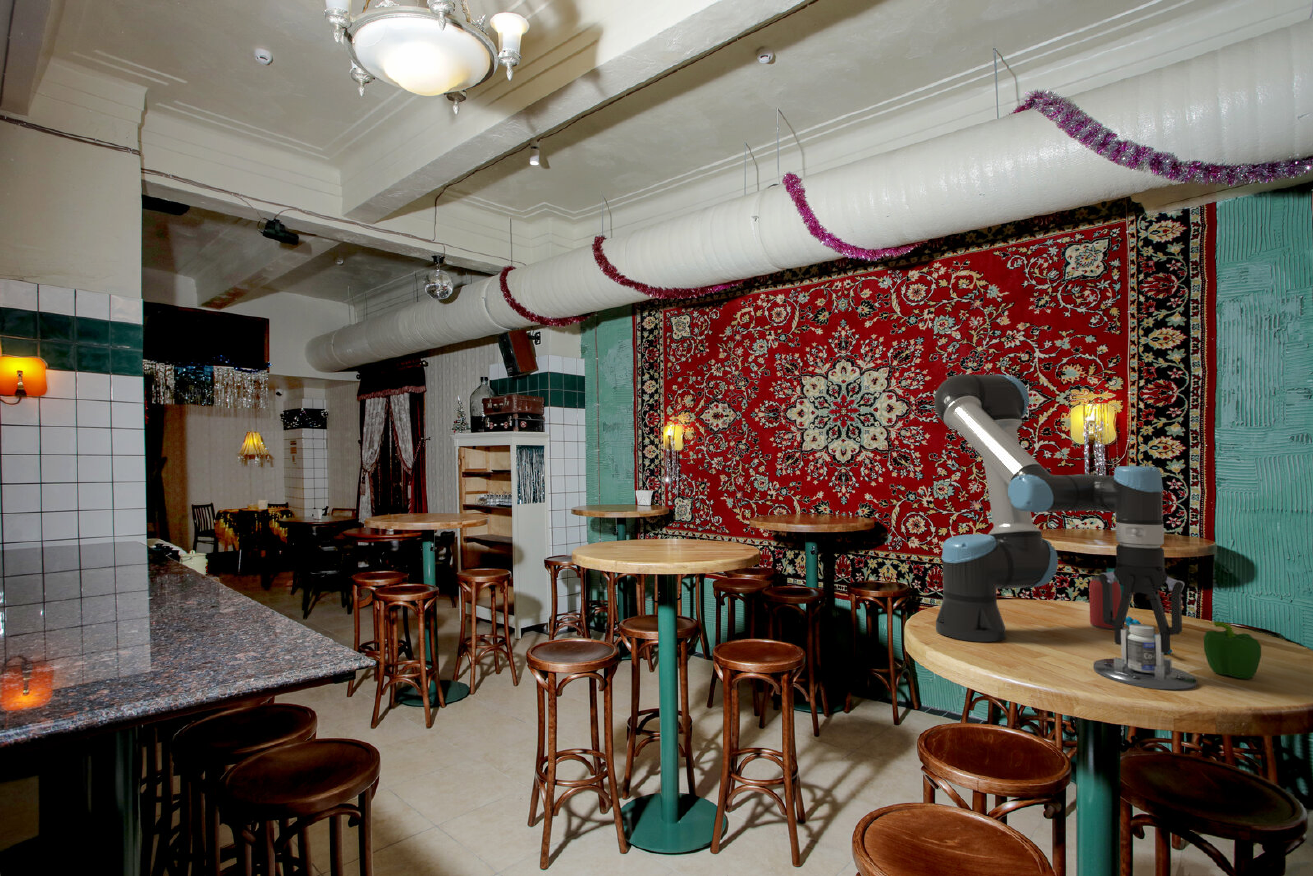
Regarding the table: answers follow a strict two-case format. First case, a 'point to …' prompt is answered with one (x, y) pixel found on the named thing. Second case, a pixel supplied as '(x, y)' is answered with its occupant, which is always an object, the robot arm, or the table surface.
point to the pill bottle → (1141, 648)
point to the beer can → (1097, 602)
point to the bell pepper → (1232, 652)
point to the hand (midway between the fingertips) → (1142, 665)
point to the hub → (1146, 675)
